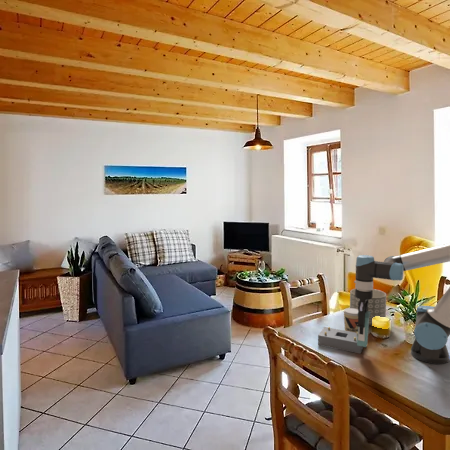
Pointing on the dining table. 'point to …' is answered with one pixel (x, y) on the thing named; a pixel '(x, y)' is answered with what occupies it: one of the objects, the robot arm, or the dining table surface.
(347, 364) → the dining table surface
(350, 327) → the coffee cup
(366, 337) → the plug
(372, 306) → the planter
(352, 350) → the block
